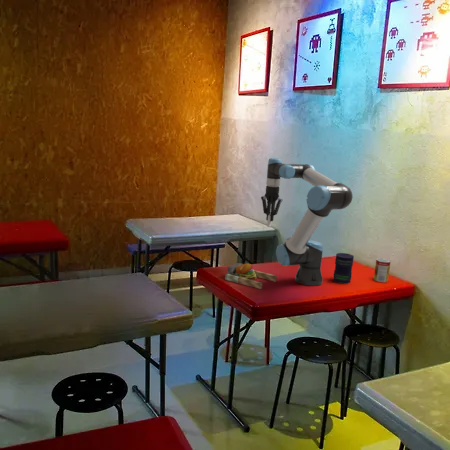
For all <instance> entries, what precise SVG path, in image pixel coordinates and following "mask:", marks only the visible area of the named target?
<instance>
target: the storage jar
mask: <svg viewBox="0 0 450 450" xmlns="http://www.w3.org/2000/svg"><path fill="white" fill-rule="evenodd" d="M354 257H355V256H354V255H353V254H350V253H344V252H338V253H336V255H335V260H334V261H335V262H334V264H335V267H334V270H333V272H334V273H333V279H332V280H333V282H335V283H338V284H342V285H343V284H345V285H346V284H351V282H352V281H351V280H352V273H353V272H352V270H353V269H352V268H353V265H354Z"/></svg>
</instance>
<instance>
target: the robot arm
mask: <svg viewBox="0 0 450 450" xmlns="http://www.w3.org/2000/svg"><path fill="white" fill-rule="evenodd" d="M266 174H267V175H266V182H265V183H266V186H265V194H264V195H262V196H261V197H260V199H261V201H262V209H263V214H265V215H266V218H265V220H266V221H267V222H266V227H269V228H270V227H272V224H273V223H272V222H274V216H276V215H278V214H279V209H280V206H281V205H282V202H283V198H281V197H280V194H279V193H280V184H281V178H282V179H286V180H290V179H302V180H304V181H305V182H308V183H309V184H310V185H312V186H313V187H311V188H310V189H309V190H308V192H307V194H306V197H307V198H306V205H307V206H306V207H307V210H306V212H305V214H304V215H303V217H302V218H301V220H300V222H299V224H298V225H297V227H296V229H295V230H294V232H293V234H292V235H291V236H290V237H288V238H287V239H286V240H285V242H284V243H283V244H282V243H280V244H278V245H277V247H276V250H275V253H276V254H275V255H276V259H277V262H278V264H280V265H281V266H283V267H289V266H290V267H291V266H298V265H299V266H298V269H297V270H296V271H297V272H296V274H295V276H294V281H295V282H296V283H299V284H301V285H304V286H321V285H322V284H323V281H324V280H323V275H322V268H321V267H322V259H323V252H324V248H323V247H324V244H323V243H321V242H319V241H316V240H313V239H311V237H312V236H313V235H314V233H315V232H316V230H317V228H318V226H319V225H320V224H321V222H322V220H323V219H324V218H326V217H328V216H330V213H331V212H332V211H333V210H334V211H335V210H342V209H343V210H344V209H346V208H347V207H349V206H350V205H351V203H352V200H353V198H354V197H353V192H352V190H351V188H350V187H348V186H347V185H346V184H344V183H343V182H336V181H335V180H333V179H331V178H329V177H328V176H326V175H324V174H322V173H321V172H319V171H317V170H316V169H315V167H314V165H312V164H300V163H299V164H293V163H292V164H291V163H283V160H282V158H276V157H272V158H271V157H269V159H268V163H267V173H266Z"/></svg>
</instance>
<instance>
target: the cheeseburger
mask: <svg viewBox="0 0 450 450" xmlns="http://www.w3.org/2000/svg"><path fill="white" fill-rule="evenodd" d="M241 264H242V265H239V266H237V267H236V273H237V274H238V275H237V276H238V277H242V278H246V279H250V280H253V281H255V280H257V277H256V274H255V272H254V271H253V270H254V269H253V266H252V264H251V263H248V262H247V263H241ZM251 269H252V270H251Z"/></svg>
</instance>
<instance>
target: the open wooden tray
mask: <svg viewBox="0 0 450 450" xmlns="http://www.w3.org/2000/svg"><path fill="white" fill-rule="evenodd" d="M242 264H243V263H242V262H241V263H240V262H236V263H234V264H232V265H229V266H228V267H227V273H225V276H224V279H225V280H226V281H229V282H233V283H237V284H241V285H243V286H248V287H253V288H255V289H260V290H262V289H263V282H262V281H261V282H260V281H257V280H250V279H246V278H242V277H238V274H237V273H236V267H237V266H239V265H242ZM251 270H253V271H254V272H255V274H256V278H260V279H263V280H268V281H271V282H277V275H275V274H272V273H267V272H263V271H259V270H255V269H253V268H252V269H251Z"/></svg>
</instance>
